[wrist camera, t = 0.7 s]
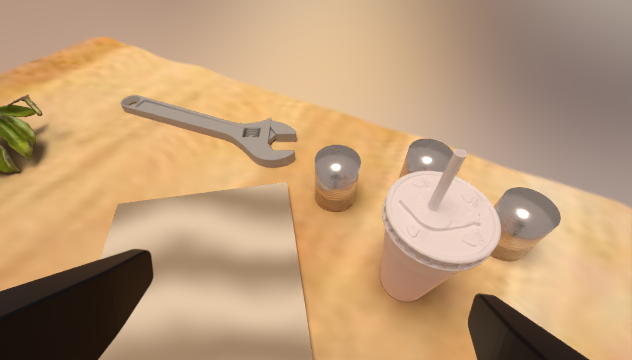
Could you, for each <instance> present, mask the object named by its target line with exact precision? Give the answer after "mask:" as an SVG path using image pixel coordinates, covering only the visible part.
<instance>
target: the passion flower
mask: <svg viewBox="0 0 632 360" xmlns="http://www.w3.org/2000/svg"><path fill="white" fill-rule="evenodd" d="M20 100H22V101H24V102H26V103H27V104H28V105H29V106H30V107H31V108H32V109H31V108H28V107H22V106H17V105H12V104H14V103H16V102H19V101H20ZM36 113H37V115H38V116H42V112H41V111H40V110H39V108H38V107H37V106H36V105H35V103H34V102H32V101H31V100H30V98H29V95H26V96H24V97H21V98H19V99H17V100H15V101H13V102H12V103H10V104H8V105H6V106H1V107H0V136H1V137H2V138H3V139H5V140H6V141H7V142H8V145H9V146H10V147H11V148H12V149H14V150H15V151H16V152H17V153H19V154H20V155H21V156H23V158H25V159H27V160H28V161H30V160H31V157H32V153H33V146H34V145H35V144H36V137H35V133H34V131H33V130H32V128H31V127H30V126H29V124H28V123H26V122H24V121H22V120H21V119H17V118H15V117H27V116H32V115H34V114H36ZM14 116H15V117H14ZM0 171H2V172H4V173H10V172H17V173H19V172H20V170H19V169H18V168H17V167H16V166H15V165H14V164H13V161H12V158H11V156H10V154H9V153H8V151H7V150H6V149H5V148H4V147H3V146H2V145H1V144H0Z"/></svg>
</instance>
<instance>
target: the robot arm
mask: <svg viewBox="0 0 632 360" xmlns="http://www.w3.org/2000/svg"><path fill="white" fill-rule="evenodd" d="M153 275H154V274H153V265H152V256H151V253H150V251H148V250H143V249H131V250H128V251H125V252H122V253H119V254H116V255H113V256H109V257H106V258H103V259H100V260H97V261H94V262H91V263H88V264H84V265H81V266H78V267H75V268H72V269H69V270H66V271H63V272H59V273H56V274H53V275H50V276H47V277H44V278H41V279H37V280H34V281H31V282H28V283H25V284H22V285H19V286H16V287H12V288H9V289H6V290H3V291H0V360H98V359H99V358H100V357H101V355H102V354H103V353H104V352H105V350H106V349H107V348H108V347H109V345H110V344H111V343H112V341H113V340H114V339H115V337H116V336H117V335H118V333H119V332H120V331H121V329H122V328H123V326H124V325H125V323H126V322H127V320H128V319H129V317H130V316H131V314H132V312H133V311H134V309H135V308H136V306H137V305H138V303H139V302H140V300H141V299H142V297H143V296H144V294H145V292H146V291H147V289H148V288H149V286H150V285H151V283H152V281H153ZM468 328H469V332H470V335H471V339H472V342H473V346H474V349H475V353H476V356H477V360H589V359H588V358H586V357H585V356H583V355H582V354H580V353H579V352H577V351H576V350H574V349H573V348H571V347H570V346H568V345H567V344H565V343H564V342H562V341H561V340H559V339H558V338H556V337H555V336H554V335H552V334H551V333H549V332H548V331H546V330H545V329H543V328H542V327H540V326H539V325H537V324H536V323H534V322H533V321H531V320H530V319H528V318H527V317H525V316H524V315H522V314H521V313H519V312H518V311H517V310H515V309H514V308H512V307H511V306H509V305H508V304H506V303H505V302H503V301H502V300H500V299H499V298H497V297H496V296H494V295H488V294H480V293H479V294H477V295H476V296H475V297H474V300H473V304H472V307H471V311H470V314H469V318H468Z"/></svg>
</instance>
